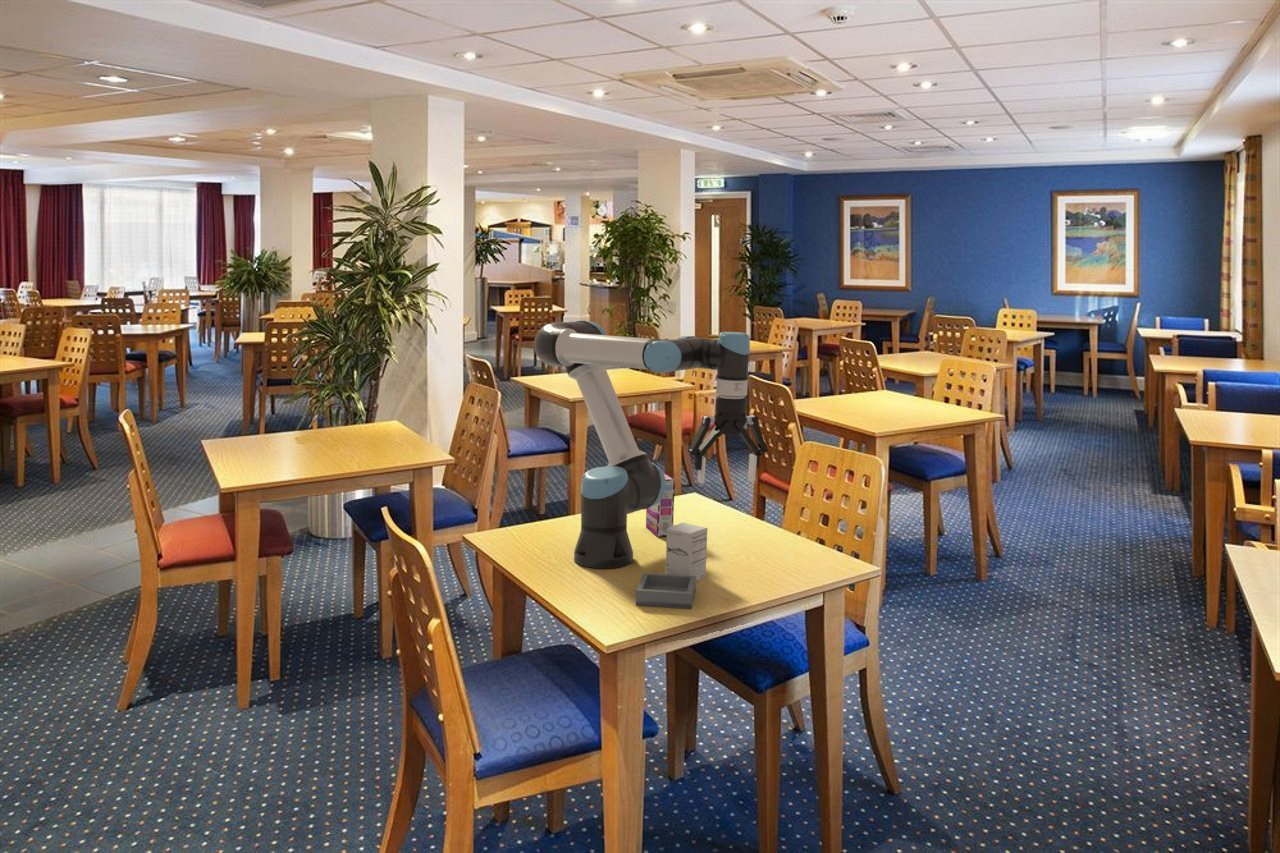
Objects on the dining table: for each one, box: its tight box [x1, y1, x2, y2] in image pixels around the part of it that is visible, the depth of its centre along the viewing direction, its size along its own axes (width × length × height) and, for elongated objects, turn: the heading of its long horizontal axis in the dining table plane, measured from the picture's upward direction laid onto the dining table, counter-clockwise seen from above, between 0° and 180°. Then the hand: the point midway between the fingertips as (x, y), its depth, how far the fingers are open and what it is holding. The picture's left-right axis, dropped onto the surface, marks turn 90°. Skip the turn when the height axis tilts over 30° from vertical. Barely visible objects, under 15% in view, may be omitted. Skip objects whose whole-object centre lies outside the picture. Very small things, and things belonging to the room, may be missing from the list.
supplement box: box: [664, 522, 708, 582], centre depth 227 cm, size 7×7×13 cm
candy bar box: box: [645, 472, 676, 538], centre depth 266 cm, size 11×5×16 cm, turn 17°
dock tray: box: [635, 572, 697, 610], centre depth 214 cm, size 12×12×4 cm
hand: (726, 481), depth 232 cm, fingers open, 13 cm apart
